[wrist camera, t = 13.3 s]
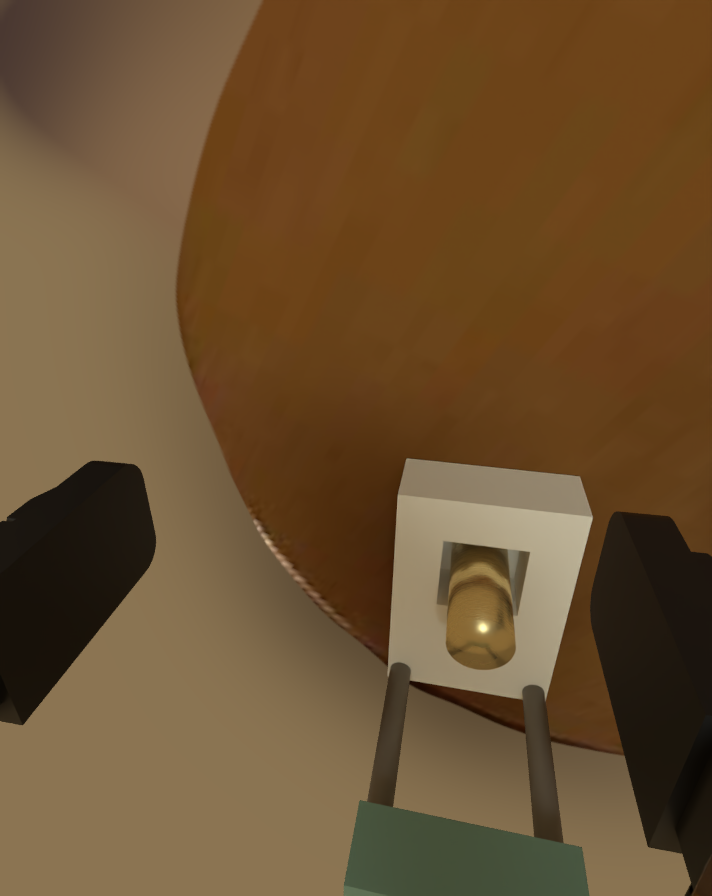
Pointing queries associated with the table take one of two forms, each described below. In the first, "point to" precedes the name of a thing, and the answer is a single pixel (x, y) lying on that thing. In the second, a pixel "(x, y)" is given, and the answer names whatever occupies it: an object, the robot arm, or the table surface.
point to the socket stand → (474, 679)
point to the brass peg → (480, 607)
